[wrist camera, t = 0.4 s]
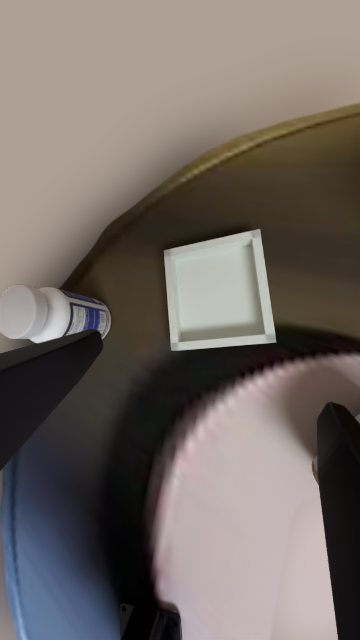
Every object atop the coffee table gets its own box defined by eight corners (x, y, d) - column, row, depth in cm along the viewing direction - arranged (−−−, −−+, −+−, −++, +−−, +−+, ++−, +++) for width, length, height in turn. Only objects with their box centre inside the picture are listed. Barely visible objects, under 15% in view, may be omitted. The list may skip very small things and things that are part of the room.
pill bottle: (69, 318, 28) (-19, 306, 19) (98, 291, 27) (22, 263, 18) (88, 353, 27) (4, 358, 17) (120, 325, 26) (50, 315, 16)
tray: (273, 342, 21) (276, 342, 19) (177, 350, 23) (171, 350, 22) (258, 238, 22) (259, 228, 20) (169, 257, 25) (163, 250, 23)
